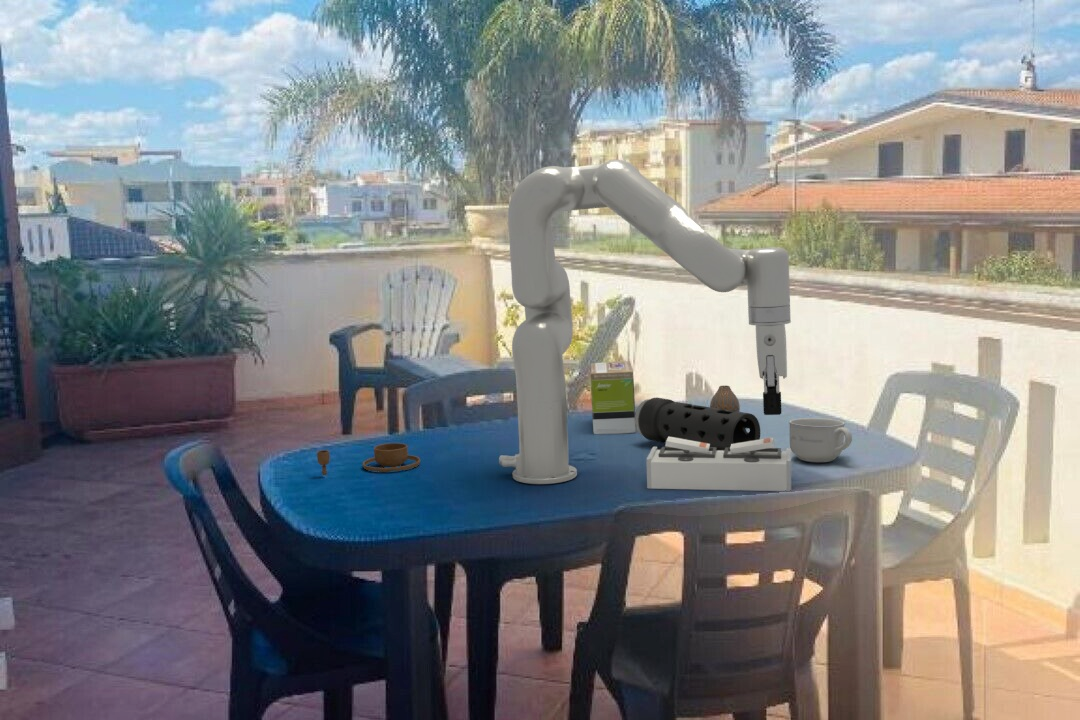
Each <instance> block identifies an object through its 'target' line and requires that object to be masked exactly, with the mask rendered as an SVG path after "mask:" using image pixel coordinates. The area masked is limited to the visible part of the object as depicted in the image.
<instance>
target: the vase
mask: <svg viewBox="0 0 1080 720" xmlns="http://www.w3.org/2000/svg"><path fill="white" fill-rule="evenodd" d="M709 407H712V408H718V409H724V410H730V411H736V412H741V411H740V407H741V405H740V402H739V399H738V396H736V394H735V392H734V391H733V390H732V388H731V386H729V385H719V387H718V389H717V391H716V392H715V393H714V395H713V396H712V398H711V401H710V404H709Z"/></svg>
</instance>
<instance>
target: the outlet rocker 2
mask: <svg viewBox="0 0 1080 720" xmlns="http://www.w3.org/2000/svg"><path fill="white" fill-rule="evenodd" d="M767 448H775V437H767V438H766V437H765V438H762V439H761V438H760V440H754V441H747V442H741V443H735V444H731V447H730V452H731V454H735V453H741V452H748V451H749V452H750V453H751V454H755V453H756V450H760V449H767Z"/></svg>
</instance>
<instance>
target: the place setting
mask: <svg viewBox="0 0 1080 720" xmlns="http://www.w3.org/2000/svg"><path fill="white" fill-rule="evenodd" d="M373 455H374V457H370V458H368V459H366V460H363V462H362V466H363V467H362V468H363V469H364V470H365V469H366V470H370V471H377V472H378V471H379V472H390V471H400V470H407V469H411V468H414V467H416V468H417V466H418V465H419V466H420V463H421V458H420V457H419V456H417V455H411V454H409V451H408V445H407V444H405V443H402V442H400V443H399V442H388V443H382V444H378V445H375V446H374V447H373ZM316 458H317V463H318V465H320V466H321V468H322V470H321V474H322V476H323V475H326V476H327V475H328V470H327V465H328V464H329V463H330V458H331V456H330V450H328V449H326V450H325V449H322V450H318V451H317V452H316ZM407 459H410V460H414V461H416V463H415V462H412V463H410V464H407V465H403V464H404V463H405V462H407V461H406V460H407ZM373 461H376V462H377V463H376V464H377V465H380V467H376V466H370V465H369V466H366V464H368V463H370V462H373ZM401 464H402V465H401ZM400 465H401V466H400ZM382 466H383V467H391V468H383V467H382ZM396 466H400V467H396ZM419 466H418V467H419ZM414 469H415V468H414ZM366 470H365V471H366ZM411 470H412V469H411Z"/></svg>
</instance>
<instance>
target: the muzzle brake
mask: <svg viewBox="0 0 1080 720" xmlns="http://www.w3.org/2000/svg"><path fill="white" fill-rule="evenodd" d="M634 421H635V429H636V431H637V432H638V434H640V435H641V436H643V437H644V438H645V439H646V440H648V441H651V442H657V443H660V444H661V443H662V444H663V443H665V444H666V440H667V438H668V436H669V437H675V438H680V439H686V440H691V441H697V442H702V443H708V444H710V447H717V450H723V451H724V450H725V447H731V444H735V443H741V442H747V441H754V440H760V439H761V425H760V422H759V420H758V418H757V417H756V416H755V415H754V414H753V413H749V412H742V411H740V412H736V411H730V410H724V409H718V408H712V407H710V406H703V405H697V404H692V403H686V402H679V401H675V400H672V399H669V398H663V397H662V398H661V397H652V398H649V399H645V400H643V401H641V402H640V404H639V405H638V406H637V408H636V409H635V420H634ZM748 429H749V432H748V431H747V430H748Z"/></svg>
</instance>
